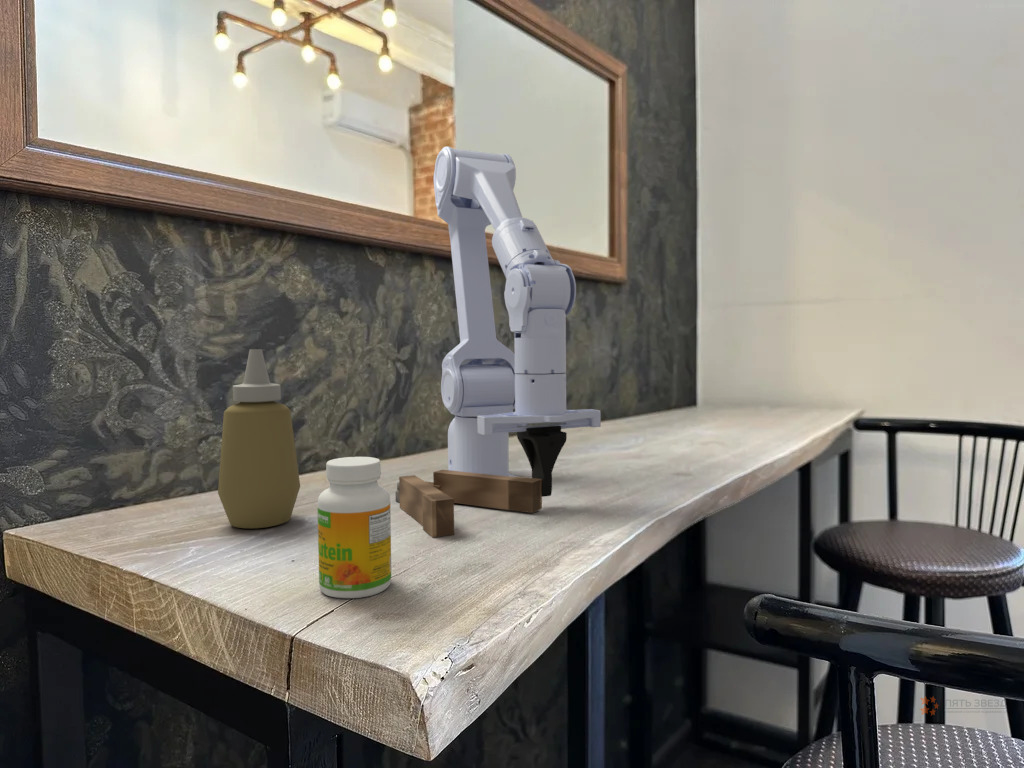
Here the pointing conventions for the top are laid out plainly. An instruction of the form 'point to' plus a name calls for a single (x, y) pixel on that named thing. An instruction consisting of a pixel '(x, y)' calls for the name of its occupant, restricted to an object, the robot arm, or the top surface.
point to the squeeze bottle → (258, 452)
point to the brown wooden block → (426, 505)
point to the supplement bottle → (354, 530)
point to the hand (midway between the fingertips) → (541, 494)
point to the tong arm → (490, 490)
